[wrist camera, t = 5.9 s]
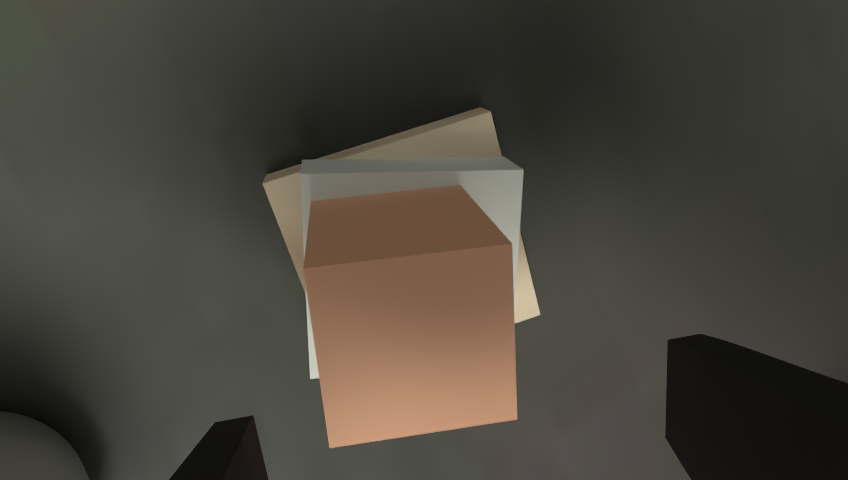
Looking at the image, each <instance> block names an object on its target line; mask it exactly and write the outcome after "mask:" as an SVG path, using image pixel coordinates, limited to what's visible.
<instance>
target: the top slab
mask: <svg viewBox="0 0 848 480" xmlns="http://www.w3.org/2000/svg"><path fill="white" fill-rule="evenodd" d="M523 172H524V170H523V169H522V168H520V167H519V166H517V165H516V164H514V163H513V162H511V161H510V160H508V159H507V158H505V157H504V156H502V157H443V158H383V159H316V160H302V164H301V169H300V191H301V210H302V230H303V249H304V258H305V249H306V241H307V232H308V223H309V214H310V206H311V201H316V200H325V199H335V198H344V197H353V196H363V195H372V194H381V193H391V192H400V191H409V190H419V189H428V188H437V187H447V186H456V185H461V186H462V187H463V189H464V190H465V191H466V192H467V193H468V194H469V195H470V196H471V198H472V199H473V200H474V201H475V202H476V203H477V204H478V205H479V207H480V208H481V209H482V210H483V211H484V212H485V213H486V215H487V216H488V217H489V218H490V219H491V220H492V221H493V222H494V224H495V225H496V226H497V227H498V228H499V229H500V230H501V231H502V233H503V234H504V235H505V236H506V237H507V238H508V239H509V240H510V242H511V243H512V251H513V287H514V315H515V299H516V283H517V267H518V251H519V236H520V220H521V204H522V188H523ZM305 287H306V284H305ZM306 307H307V326H308V345H309V365H310V379H313V378H319V372H318V365H317V358H316V352H315V345H314V338H313V331H312V324H311V318H310V311H309V304H308V297H307V290H306Z"/></svg>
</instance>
